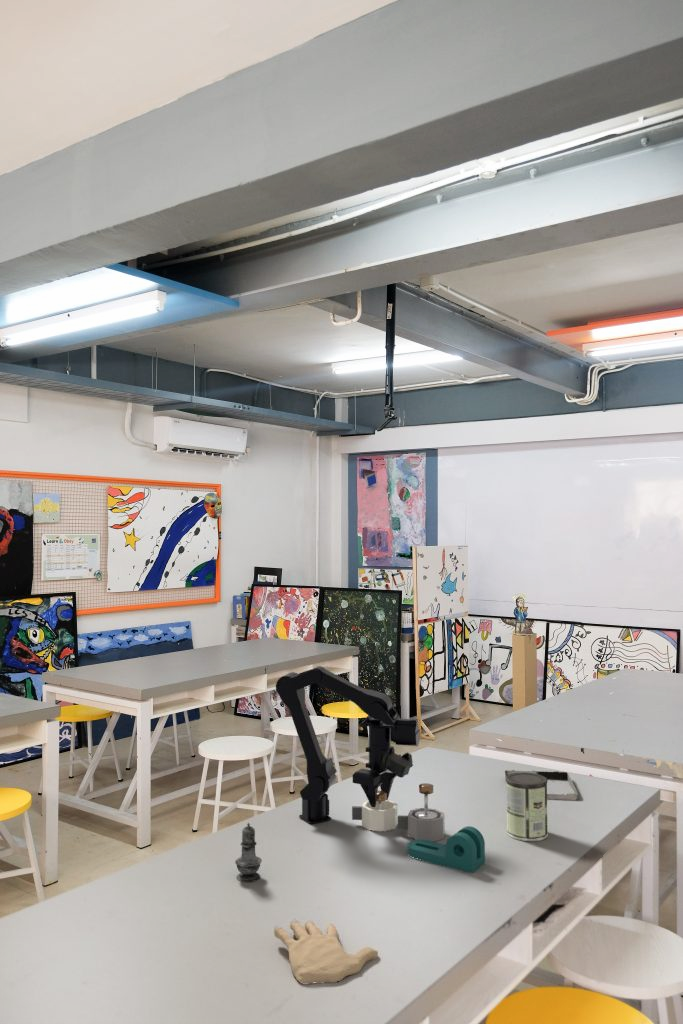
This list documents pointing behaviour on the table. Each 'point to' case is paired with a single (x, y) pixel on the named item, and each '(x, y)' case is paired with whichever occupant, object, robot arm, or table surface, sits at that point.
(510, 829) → the coffee can
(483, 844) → the bracket
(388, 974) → the table surface
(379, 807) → the brown and grey doorknob
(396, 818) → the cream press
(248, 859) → the salt shaker
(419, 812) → the coffee tamper
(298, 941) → the hand model
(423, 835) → the grey octagonal hollow piece
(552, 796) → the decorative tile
